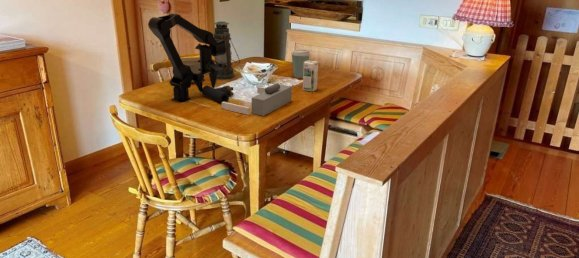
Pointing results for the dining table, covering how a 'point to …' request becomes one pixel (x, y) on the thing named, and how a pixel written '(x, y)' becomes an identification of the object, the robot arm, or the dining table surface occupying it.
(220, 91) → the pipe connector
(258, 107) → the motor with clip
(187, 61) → the planter bowl
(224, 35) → the lantern
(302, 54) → the disposable coffee cup
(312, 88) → the syrup box
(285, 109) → the dining table surface
